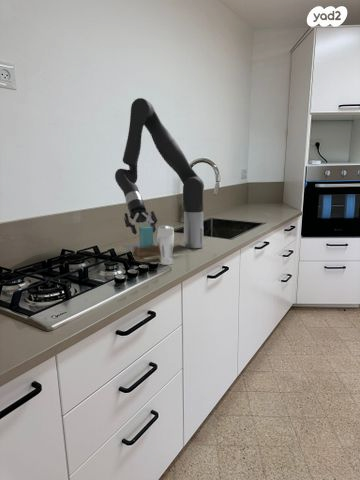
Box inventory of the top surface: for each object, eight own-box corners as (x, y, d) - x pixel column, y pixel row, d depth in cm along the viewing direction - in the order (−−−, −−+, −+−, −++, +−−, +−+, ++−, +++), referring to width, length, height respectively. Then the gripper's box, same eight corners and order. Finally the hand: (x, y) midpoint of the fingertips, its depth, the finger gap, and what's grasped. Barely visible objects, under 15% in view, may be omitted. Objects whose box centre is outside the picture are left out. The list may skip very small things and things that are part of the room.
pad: (122, 247, 166) (122, 245, 166) (142, 245, 171) (141, 243, 170) (129, 252, 158) (128, 250, 157) (149, 249, 162) (149, 247, 162)
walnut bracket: (124, 254, 154) (124, 243, 152) (157, 250, 160) (157, 240, 159) (136, 264, 140) (136, 252, 138) (172, 258, 146) (172, 247, 145)
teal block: (140, 253, 152) (139, 226, 149) (149, 252, 154) (148, 225, 151) (143, 255, 148) (142, 228, 145) (153, 254, 150) (152, 227, 147)
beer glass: (168, 266, 136) (167, 229, 133) (154, 263, 140) (153, 227, 136) (177, 262, 142) (177, 226, 138) (163, 259, 145) (163, 224, 142)
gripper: (121, 199, 152) (131, 229, 144) (151, 197, 158) (162, 226, 151) (118, 209, 158) (127, 239, 150) (147, 207, 164) (157, 235, 156)
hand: (144, 232), depth 150 cm, fingers open, 8 cm apart
